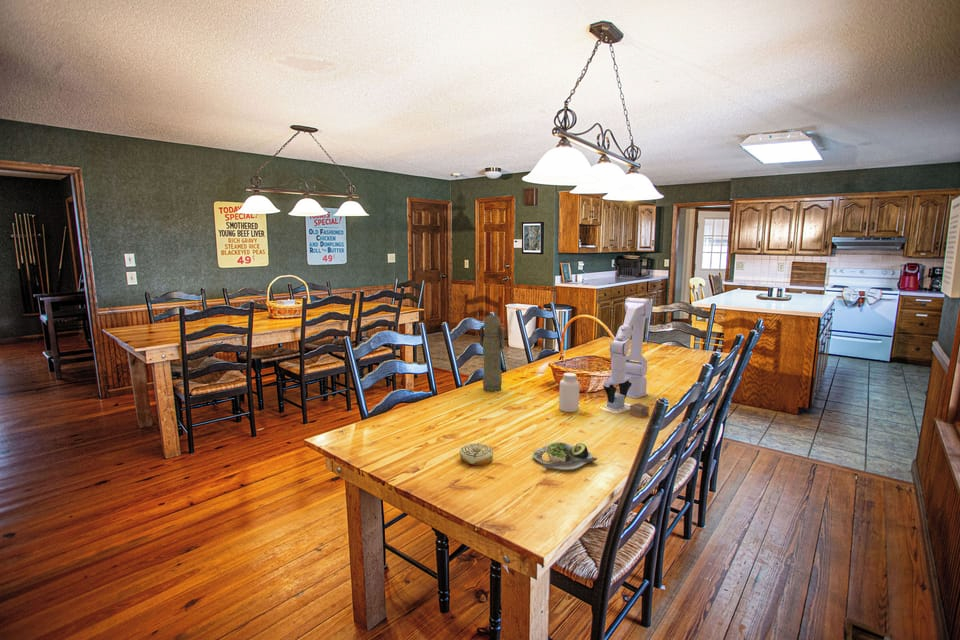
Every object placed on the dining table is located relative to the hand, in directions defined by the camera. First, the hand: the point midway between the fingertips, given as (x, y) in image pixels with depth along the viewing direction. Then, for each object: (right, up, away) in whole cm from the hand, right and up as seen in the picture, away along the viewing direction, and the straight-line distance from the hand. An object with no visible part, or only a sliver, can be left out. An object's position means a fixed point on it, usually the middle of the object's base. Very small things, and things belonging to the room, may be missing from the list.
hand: (616, 400), depth 196 cm
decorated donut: (-58, -11, -46) cm, 75 cm away
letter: (0, -3, 0) cm, 3 cm away
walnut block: (+6, -5, -9) cm, 12 cm away
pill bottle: (-21, -4, -2) cm, 21 cm away
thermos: (-51, +1, +26) cm, 57 cm away
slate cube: (0, -3, +1) cm, 3 cm away
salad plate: (-30, -11, -46) cm, 56 cm away
